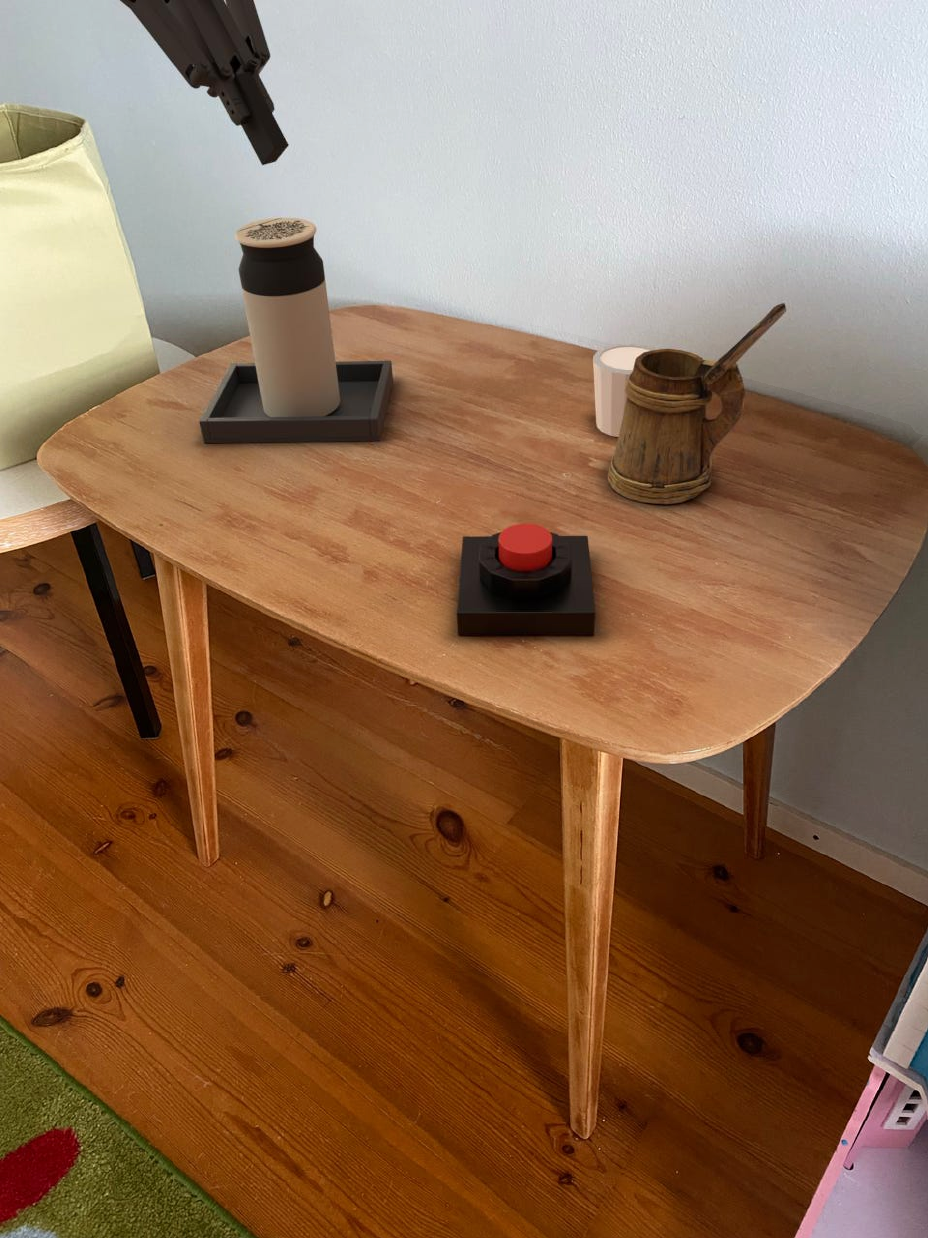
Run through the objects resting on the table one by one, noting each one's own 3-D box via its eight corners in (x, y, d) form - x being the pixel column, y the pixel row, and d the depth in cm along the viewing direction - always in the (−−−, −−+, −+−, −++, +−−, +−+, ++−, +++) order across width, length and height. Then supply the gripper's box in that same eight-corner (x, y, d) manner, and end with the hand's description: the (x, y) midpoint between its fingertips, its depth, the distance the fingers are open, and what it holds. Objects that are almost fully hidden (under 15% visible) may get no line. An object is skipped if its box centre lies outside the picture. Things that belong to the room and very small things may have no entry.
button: (498, 572, 73) (498, 553, 72) (499, 542, 76) (498, 523, 75) (552, 572, 72) (553, 552, 71) (551, 541, 76) (551, 522, 75)
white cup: (610, 402, 101) (614, 337, 97) (671, 418, 98) (678, 351, 94) (577, 429, 97) (579, 362, 93) (639, 447, 94) (645, 378, 90)
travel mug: (355, 408, 102) (334, 229, 91) (287, 432, 98) (257, 249, 87) (315, 383, 107) (291, 210, 96) (250, 405, 103) (217, 228, 92)
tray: (203, 443, 98) (198, 421, 96) (234, 383, 109) (230, 363, 107) (379, 441, 97) (377, 418, 95) (393, 381, 108) (391, 360, 106)
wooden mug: (730, 532, 82) (763, 323, 71) (589, 486, 89) (599, 288, 77) (773, 486, 88) (809, 285, 76) (637, 446, 94) (653, 255, 83)
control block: (458, 636, 73) (455, 593, 70) (463, 558, 81) (461, 517, 78) (593, 636, 72) (596, 592, 70) (586, 557, 80) (588, 516, 78)
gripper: (182, -92, 87) (313, 161, 91) (48, -81, 80) (197, 194, 84) (213, -158, 81) (352, 116, 85) (70, -153, 74) (230, 147, 78)
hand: (275, 154), depth 84 cm, fingers closed
